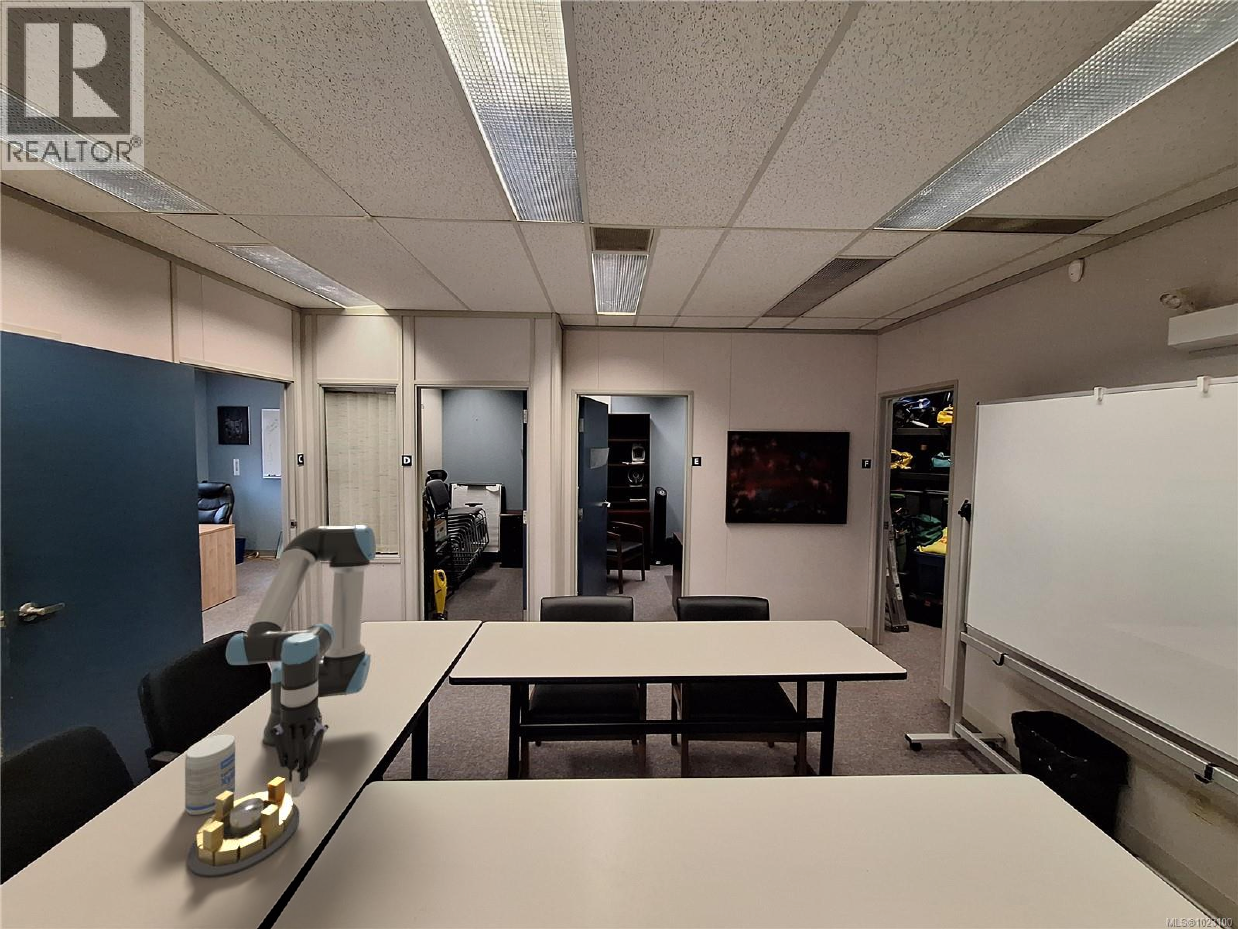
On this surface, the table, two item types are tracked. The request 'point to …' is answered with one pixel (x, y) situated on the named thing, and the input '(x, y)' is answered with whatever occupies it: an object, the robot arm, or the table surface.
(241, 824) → the spindle base
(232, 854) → the yellow block ring
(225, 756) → the supplement tub
